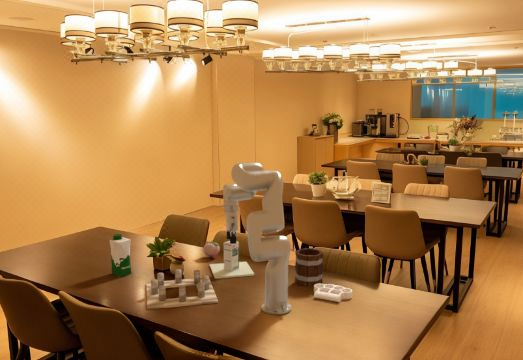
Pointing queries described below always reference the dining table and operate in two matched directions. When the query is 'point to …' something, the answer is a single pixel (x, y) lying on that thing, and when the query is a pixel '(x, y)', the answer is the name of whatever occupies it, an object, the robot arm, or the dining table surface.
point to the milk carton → (120, 255)
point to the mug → (308, 267)
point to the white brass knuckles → (332, 292)
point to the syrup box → (231, 256)
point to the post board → (175, 301)
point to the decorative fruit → (211, 249)
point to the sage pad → (223, 273)
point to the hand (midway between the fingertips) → (231, 241)
